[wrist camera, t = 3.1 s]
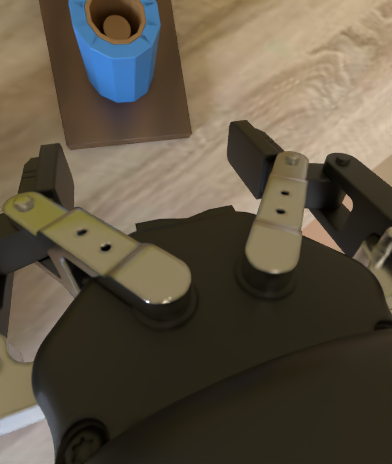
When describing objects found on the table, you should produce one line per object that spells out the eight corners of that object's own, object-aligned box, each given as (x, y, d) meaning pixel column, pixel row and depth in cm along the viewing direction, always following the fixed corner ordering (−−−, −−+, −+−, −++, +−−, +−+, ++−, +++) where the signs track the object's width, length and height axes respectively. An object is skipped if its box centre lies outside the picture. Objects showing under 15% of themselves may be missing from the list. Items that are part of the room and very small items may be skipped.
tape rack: (70, 149, 27) (47, 123, 20) (24, -92, 26) (-19, -215, 18) (188, 137, 30) (207, 110, 23) (154, -83, 28) (162, -188, 21)
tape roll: (93, 104, 26) (78, 60, 19) (81, 38, 26) (61, -34, 19) (156, 100, 28) (166, 56, 20) (146, 37, 27) (151, -31, 20)
